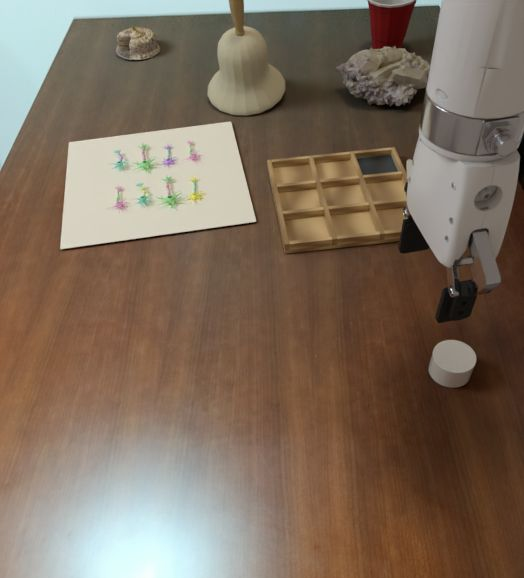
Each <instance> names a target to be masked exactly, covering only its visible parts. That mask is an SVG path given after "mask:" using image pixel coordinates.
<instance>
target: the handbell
mask: <svg viewBox="0 0 524 578" xmlns="http://www.w3.org/2000/svg"><path fill="white" fill-rule="evenodd" d="M228 5H229V10H230V11H229V12H230V15H231V19H232V22H233V25H234V26H233V27H232V28H229V29H228V30H226V31H225V32H224V33H223V34H222V35H221V37H220V39H219V41H218V43H217V47H216V48H217V49H216V50H217V51H216V57H217V62H218V67H219V70H218V71H217V72H215V73H214V75H213V76H212V78H211V80H210V81H209V83H208V85H207V97H208V99H209V101H210V103H211V105H212V106H213V107H215V108H216V109H217V110H219V111H220V112H222V113H225V114H228V115H231V116H238V117H249V116H254V115H259V114H261V113H264V112H266V111H268V110H271V109H272V108H273V107H274V106H276V104H278V103H279V102H280V101H281V100H282V98H283V96H284V94H285V92H286V79H285V78H284V76H283V75H282V73H281V71H280V70H279V69H278V68H276V67H275V66H273V65H271V64H270V63H269V60H268V45H267V42H266V40H265V38H264V37H263V35H262V33H261V32H260V31H259V30H257V29H255V28H254V27H252V26H251V27H250V26H248V25H245V23H244V22H245V21H244V20H245V1H244V0H228Z"/></svg>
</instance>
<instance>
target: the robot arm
mask: <svg viewBox="0 0 524 578" xmlns="http://www.w3.org/2000/svg"><path fill="white" fill-rule="evenodd" d="M429 65H430V71H429V76H428V82H427V87H425V93H424V99H423V102H422V103H423V105H422V110H421V116H420V121H419V127H418V134H419V135H418V139H417V140H416V141H417V142H416V145H415V149H414V153H413V157H412V158H407V159H406V161H405V162H406V163H405V166H406V167H405V168H406V169H405V171H406V173H407V180H408V182H406V184H405V187H404V191H405V192H406V202H407V204H405V205H404V206H403V215H404V217H405V218H407V217H408V219H403V224H402V229H401V235H400V240H399V241H398V247H397V249H398V251H399V253H400V254H403V255H404V254H410V253H416V252H421V251H426V250H428V249H430V251H431V252H432V253H433V255H434V256H435V258H436V260H437V261H438V262H439V263H440V264H441V265H443V266H444V267H445V271H446V281H447V282H446V284H447V287H444V288H443V289H442V291H441V294H440V297H439V302H438V304H437V305H438V306H437V309H436V312H435V317H434V318H435V320H436V322H437V324H442V323H448V322H457V321H461V320H464V319H468V318H470V317H471V315H472V312H473V309H474V306H475V303H476V300H477V298H478V295H484V294H485V295H486V294H490V293H491V291H492V290H494V289H495V288H496V287H498V286H500V285H501V282H502V277H501V273H500V270H499V267H498V264H497V260H496V259H497V257H498V256H499V253H500V251H501V248H502V245H503V242H504V238H505V236H506V233H507V228H508V225H509V221H510V217H511V213H512V209H513V206H514V201H515V197H516V193H517V192H516V191H517V186H518V180H519V173H520V162H521V155H520V153H519V151H518V149H519V147H520V144H521V142H522V138H523V136H524V0H441V3H440V8H439V14H438V20H437V26H436V30H435V38H434V43H433V49H432V54H431V60H430V64H429ZM467 249H469V253H470V255H466V256H463V255H464V254H465V252H466V251H467ZM468 265H470V274H471V275H470V276H471V279H466V280H461V281H460V274H459V267H461V266H468Z"/></svg>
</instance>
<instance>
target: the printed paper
mask: <svg viewBox="0 0 524 578" xmlns="http://www.w3.org/2000/svg"><path fill="white" fill-rule="evenodd" d="M237 143H238V142H237V140H236V135H235V131H234V126H233V123H232V121H224V122H223V121H222V122H215V123H207V124H199V125H193V126H185V127H177V128H170V129H161V130H152V131H146V132H138V133H130V134H122V135H115V136H114V135H113V136H107V137H106V136H105V137H99V138H98V137H97V138H93V139H92V138H91V139H82V140H76V141H68V148H67V160H66V172H65V173H66V174H65V184H64V194H63V195H64V196H63V207H62V208H63V209H62V220H61V233H60V245H59V250H65V249H73V248H80V247H86V246H87V247H88V246H94V245H101V244H107V243H109V244H110V243H115V242H122V241H130V240H136V239H144V238H151V237H156V236H157V237H158V236H165V235H173V234H179V233H185V232H194V231H201V230H207V229H214V228H222V227H228V226H235V225H242V224H243V225H244V224H249V223H256V222H257V218H256V213H255V210H254V206H253V203H252V198H251V195H250V191H249V186H248V182H247V179H246V174H245V171H244V167H243V162H242V158H241V155H240V151H239V148H238V144H237Z"/></svg>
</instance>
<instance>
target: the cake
mask: <svg viewBox="0 0 524 578" xmlns="http://www.w3.org/2000/svg"><path fill="white" fill-rule="evenodd" d="M158 41H159V40H158V39H157V36H156V34H155V32H154V31H153V30H152V29H150V28H146V27H140V26H138V27H136V26H133V27H128V28H127V29H123V30H121V31H119V32H118V33H117V35H116V42H117V44H116V48H115V54H116V55H117V56H118V57H120V58H122V59H124V60H129V61H141V60H147V59H150V58H153V57H155V56H157V55H158V54H159V53H160V52H161V46H160V45H159V43H158Z"/></svg>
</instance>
